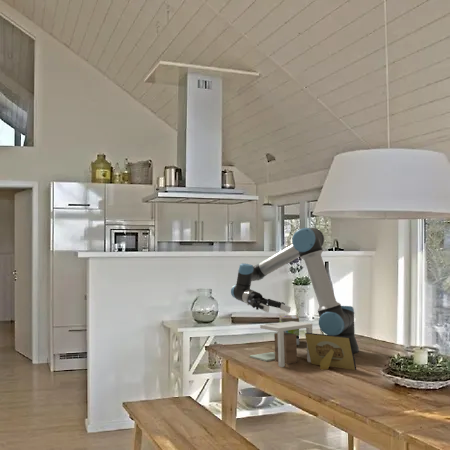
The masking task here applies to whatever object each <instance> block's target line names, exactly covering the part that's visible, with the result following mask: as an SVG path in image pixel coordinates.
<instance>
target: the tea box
mask: <svg viewBox="0 0 450 450" xmlns="http://www.w3.org/2000/svg"><path fill="white" fill-rule="evenodd" d="M289 321H297V322H300V318H299V317H298V315H296V314H292V315H291V314H283V315H282V314H281V315H279V321H278V322H279V323H281V322H289ZM284 332H286V333H291V334H296V342H297V346H299V345H300V329H294V330H287V331H284Z"/></svg>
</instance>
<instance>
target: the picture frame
mask: <svg viewBox="0 0 450 450" xmlns="http://www.w3.org/2000/svg"><path fill="white" fill-rule="evenodd" d="M304 335H305V341H306V347H307V346H308V350H309V355H310V360H311V362H310V364H311V365H318V366H320V367H319V369H320V370H321V371H322V370H323V371H324V370H329V369H330V368H329V367H331V368H332V367H333V368H336V369H337V368H339V369H346V370H351V371H352V370H353V371H356V370H357V365H356V360H355V353H353V349H352V344H351V339H350V337H344V336H334V335H327V334H325V333H313V332H312V333H306V332H305V333H304Z"/></svg>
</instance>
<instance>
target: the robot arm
mask: <svg viewBox="0 0 450 450" xmlns="http://www.w3.org/2000/svg"><path fill="white" fill-rule="evenodd" d="M291 242H292V244H290V245H289V246H286V247H285V248H283V249H282V250H280V251H278V252H276V253H275V254H273V255H271V256H270V257H267V258H266V259H264V260H262V261H261V262H259V263H258V264H256V265H253V264H249V263H243V262H242V263H240V264H239V267H238V268H239V269H238V270H237V278H236V284H234V285H233V286H232V288H231V289H230V294H231V295H230V296H231V297H232V298H234V299H236V300H238V301H241V302H242V303H245V304H247V306H251V307H252V309H255V310H257V311H258V310H261V311H264V312H265V313H270V307H272V308H277V309H280V310H282V311H284V312H287V313H289V314H290V312H291V306H288V305H287V304H286V302H285V303H284V301H283V302H282V301H281V302H280V301H278V300H273V299H271V298H266V297H263V295H262V294H261V293H260V292H258V291H255V290H253V289H250V288H251V285H252V282H255V281H261V280H262V279H264V278H265V277H266V276H268V275H270V274H271V273H273V272H274V271H276V270H278V269H280V268H282V267H284V266H285V265H287V264H289V263H291V262H292V261H294V260H296V259H298V258H300V259H302V260H303V261H304V263H305V266H306V269H307V273H308V275H309V279H310V282H311V285H312V287H313V292H314V294H315V297H316V300H317V304H318V310H317V313H318V316H319V318H318V326H319V328H320V330H321V332H322V333H323V334H324V335H334V336H344V337H350V339H351V344H352V349H353V354H357V353H359V350H360V349H359V343H358V342H357V341H358V340H357V338H356V334H355V309H354V307H353V306H351V305H341V303H340V302H338V301H337V299H336V296H335V293H334V290H333V287H332V284H331V281H330V278H329V275H328V272H327V269H326V266H325V264H324V260H323V257H322V253H323V252H324V251H323V246H324V243H325V236H324V234H323V231H321V230H320V229H318V228H315V227H302V228H299V229H297V230H296V231H295V232H294V233H293V236H292V240H291Z"/></svg>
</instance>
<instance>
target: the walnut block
mask: <svg viewBox="0 0 450 450" xmlns="http://www.w3.org/2000/svg"><path fill="white" fill-rule="evenodd" d="M273 336H274V353H275V360H274V361H275V362H278V334H277V332H275V333H274V335H273ZM297 346H298V345H297V342H296V334H291V333H286V332H284V359H285V364H286V365H289V364H296V363H298V349H297V348H298V347H297Z"/></svg>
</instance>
